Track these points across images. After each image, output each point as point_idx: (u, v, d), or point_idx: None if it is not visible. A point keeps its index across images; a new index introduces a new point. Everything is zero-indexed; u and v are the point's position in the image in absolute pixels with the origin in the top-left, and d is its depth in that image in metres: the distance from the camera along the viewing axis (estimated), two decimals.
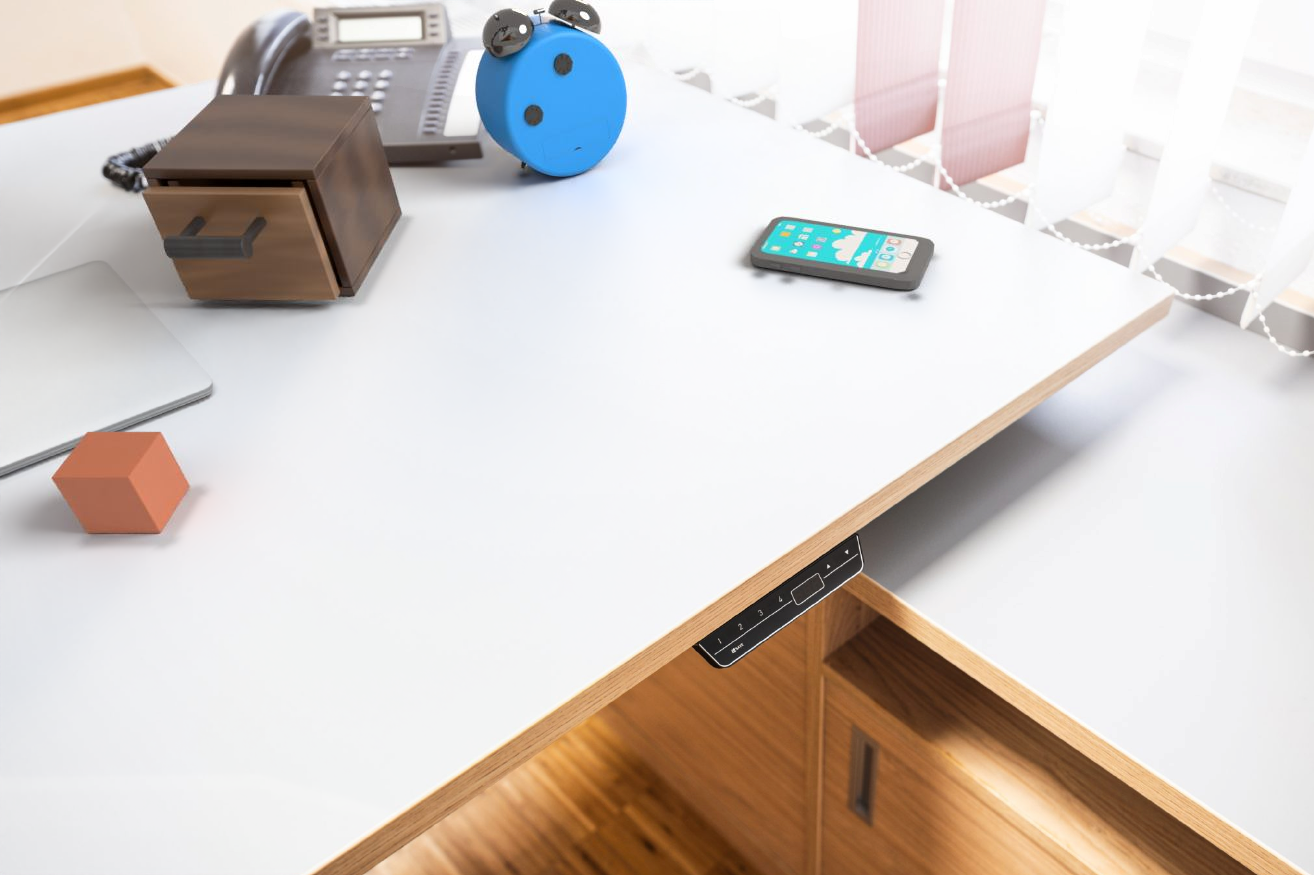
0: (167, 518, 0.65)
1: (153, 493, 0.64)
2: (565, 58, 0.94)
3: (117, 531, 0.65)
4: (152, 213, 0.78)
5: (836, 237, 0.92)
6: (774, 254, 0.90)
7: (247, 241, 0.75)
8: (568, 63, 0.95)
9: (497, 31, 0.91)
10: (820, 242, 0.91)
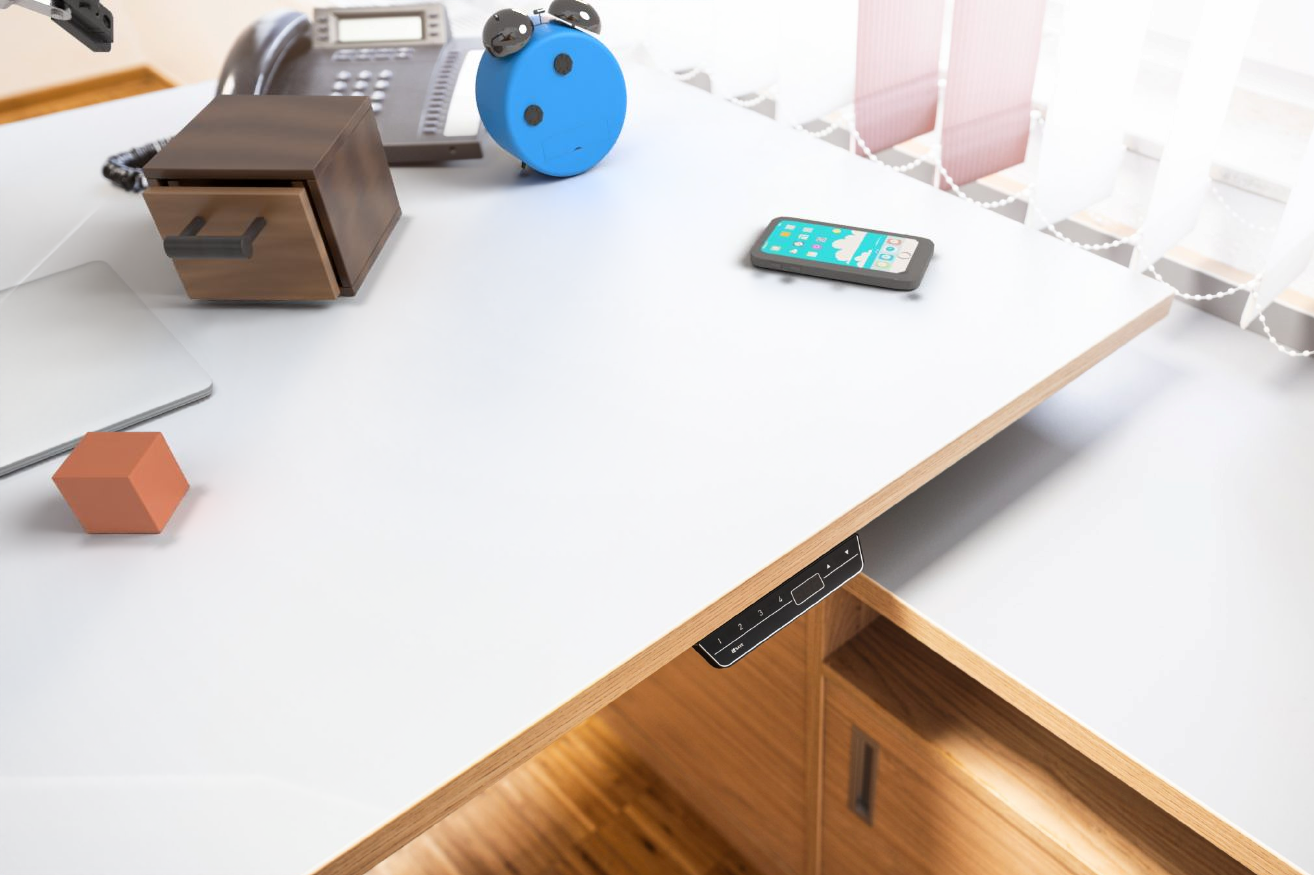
0: (167, 518, 0.65)
1: (153, 493, 0.64)
2: (565, 58, 0.94)
3: (117, 531, 0.65)
4: (152, 213, 0.78)
5: (836, 237, 0.92)
6: (774, 254, 0.90)
7: (247, 241, 0.75)
8: (568, 63, 0.95)
9: (497, 31, 0.91)
10: (820, 242, 0.91)
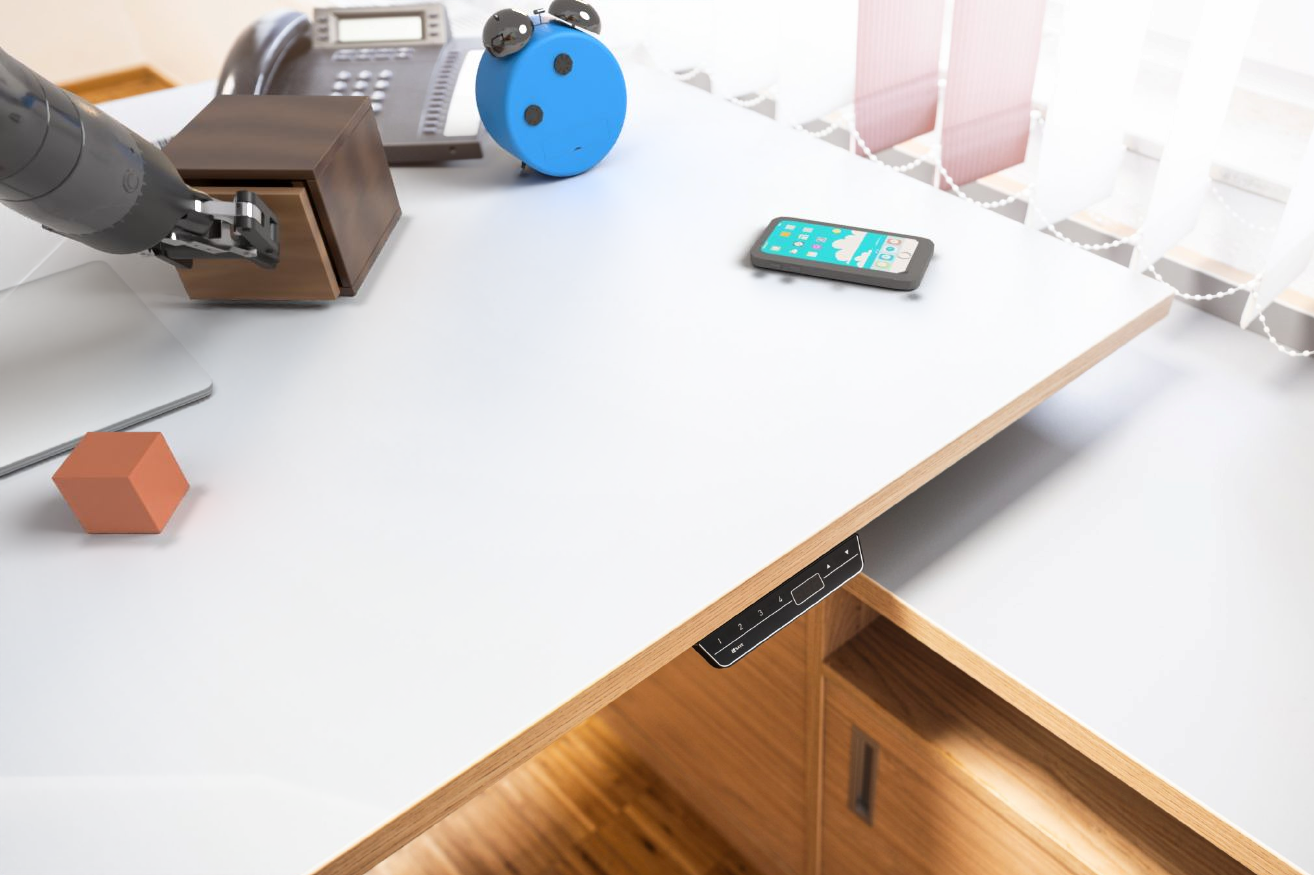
0: (167, 518, 0.65)
1: (153, 493, 0.64)
2: (565, 58, 0.94)
3: (117, 531, 0.65)
4: None
5: (836, 237, 0.92)
6: (774, 254, 0.90)
7: None
8: (568, 63, 0.95)
9: (497, 31, 0.91)
10: (820, 242, 0.91)
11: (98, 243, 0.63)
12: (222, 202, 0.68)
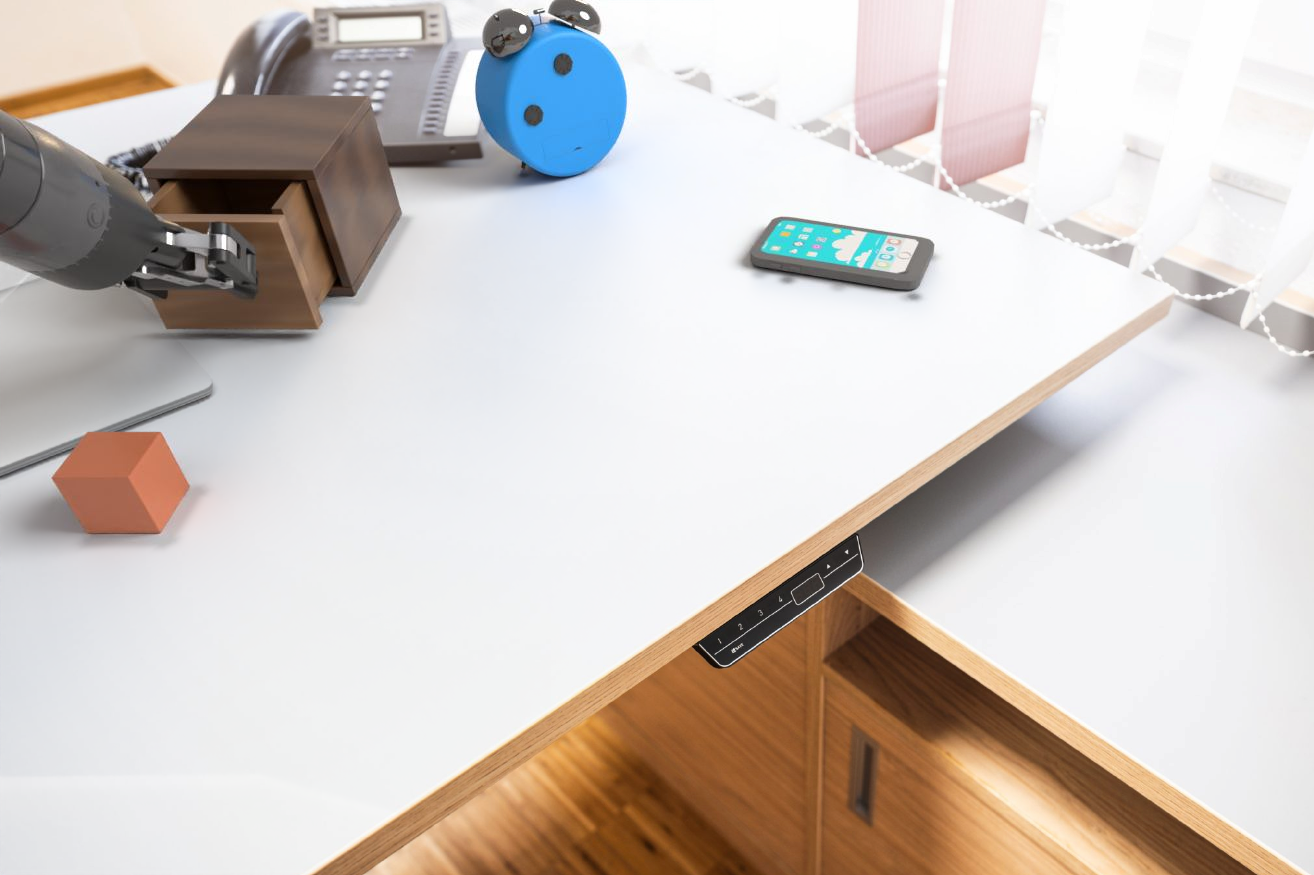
0: (167, 518, 0.65)
1: (153, 493, 0.64)
2: (565, 58, 0.94)
3: (117, 531, 0.65)
4: None
5: (836, 237, 0.92)
6: (774, 254, 0.90)
7: None
8: (568, 63, 0.95)
9: (497, 31, 0.91)
10: (820, 242, 0.91)
11: (62, 280, 0.60)
12: (195, 234, 0.65)
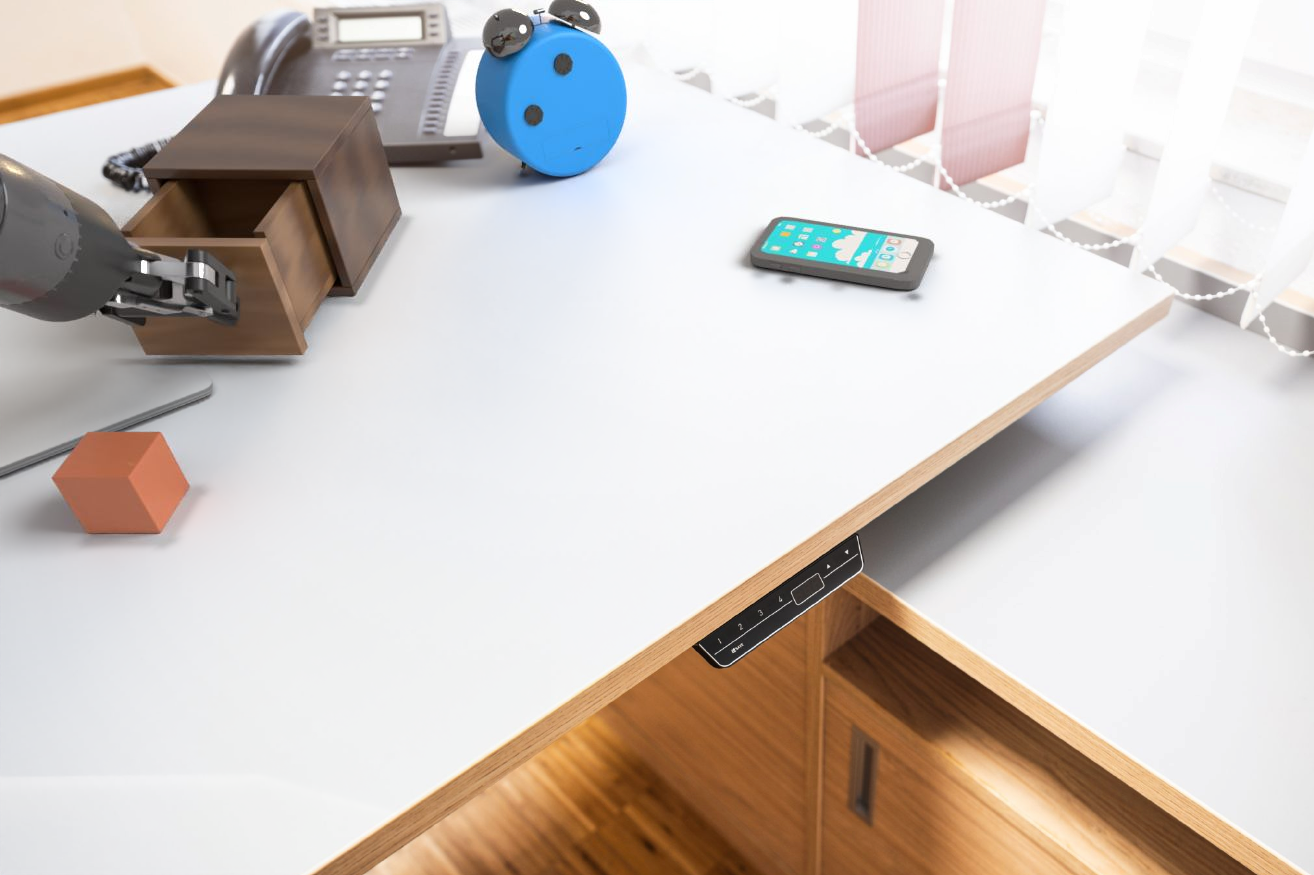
0: (167, 518, 0.65)
1: (153, 493, 0.64)
2: (565, 58, 0.94)
3: (117, 531, 0.65)
4: None
5: (836, 237, 0.92)
6: (774, 254, 0.90)
7: None
8: (568, 63, 0.95)
9: (497, 31, 0.91)
10: (820, 242, 0.91)
11: (31, 312, 0.57)
12: (171, 262, 0.62)
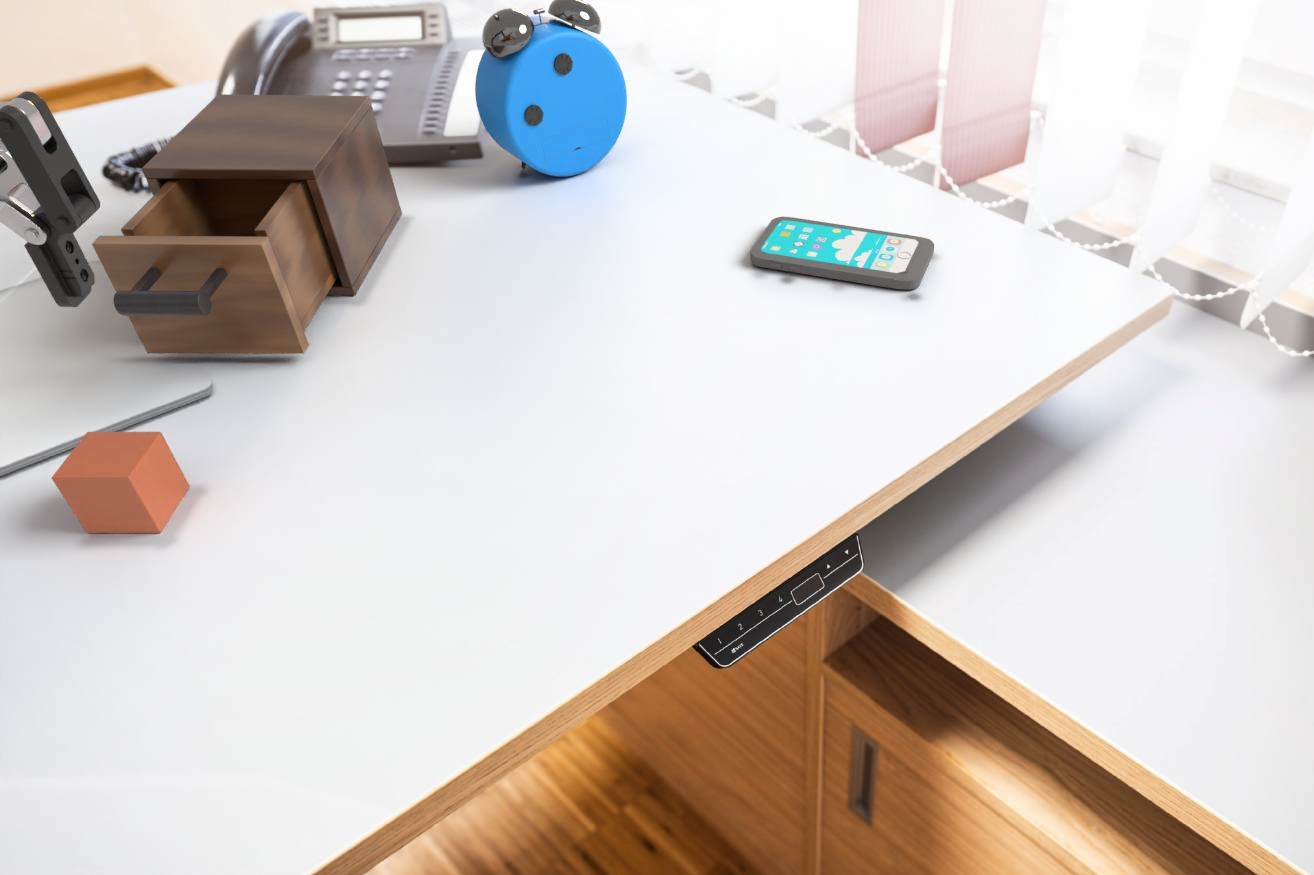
0: (167, 518, 0.65)
1: (153, 493, 0.64)
2: (565, 58, 0.94)
3: (117, 531, 0.65)
4: (104, 264, 0.72)
5: (836, 237, 0.92)
6: (774, 254, 0.90)
7: (204, 296, 0.70)
8: (568, 63, 0.95)
9: (497, 31, 0.91)
10: (820, 242, 0.91)
11: None
12: None
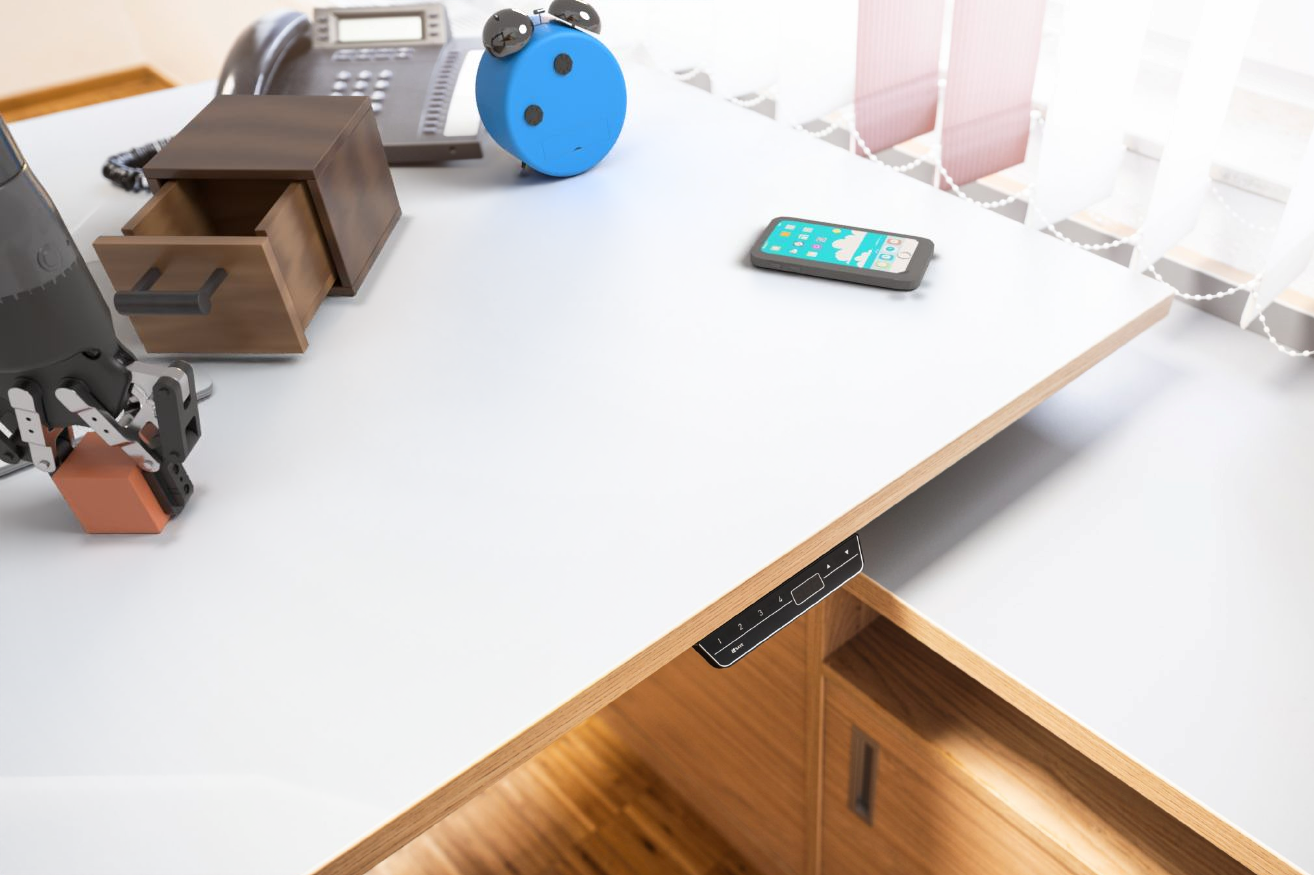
0: (167, 518, 0.65)
1: None
2: (565, 58, 0.94)
3: (117, 531, 0.65)
4: (104, 264, 0.72)
5: (836, 237, 0.92)
6: (774, 254, 0.90)
7: (204, 296, 0.70)
8: (568, 63, 0.95)
9: (497, 31, 0.91)
10: (820, 242, 0.91)
11: None
12: (150, 364, 0.59)
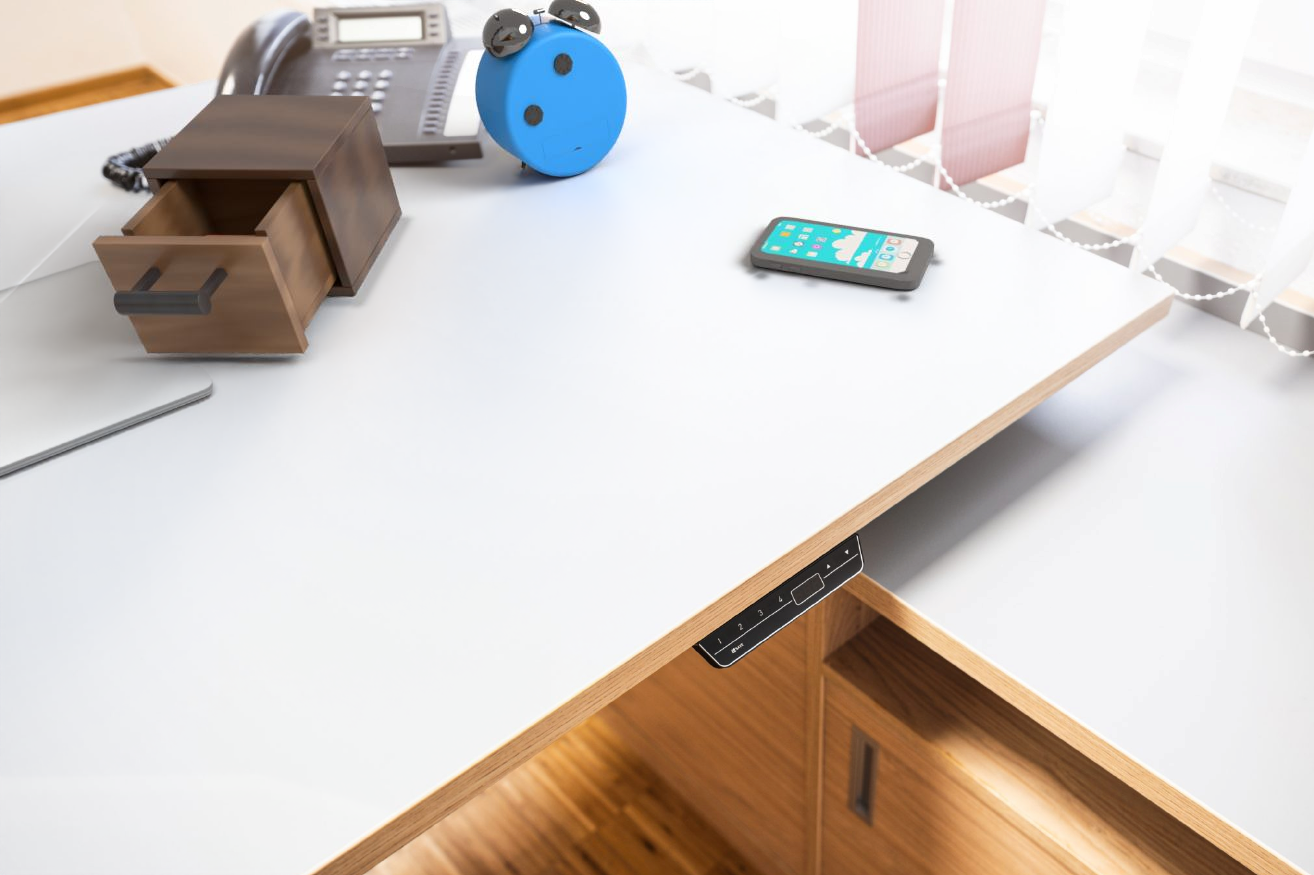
0: None
1: None
2: (565, 58, 0.94)
3: None
4: (104, 264, 0.72)
5: (836, 237, 0.92)
6: (774, 254, 0.90)
7: (204, 296, 0.70)
8: (568, 63, 0.95)
9: (497, 31, 0.91)
10: (820, 242, 0.91)
11: None
12: None
